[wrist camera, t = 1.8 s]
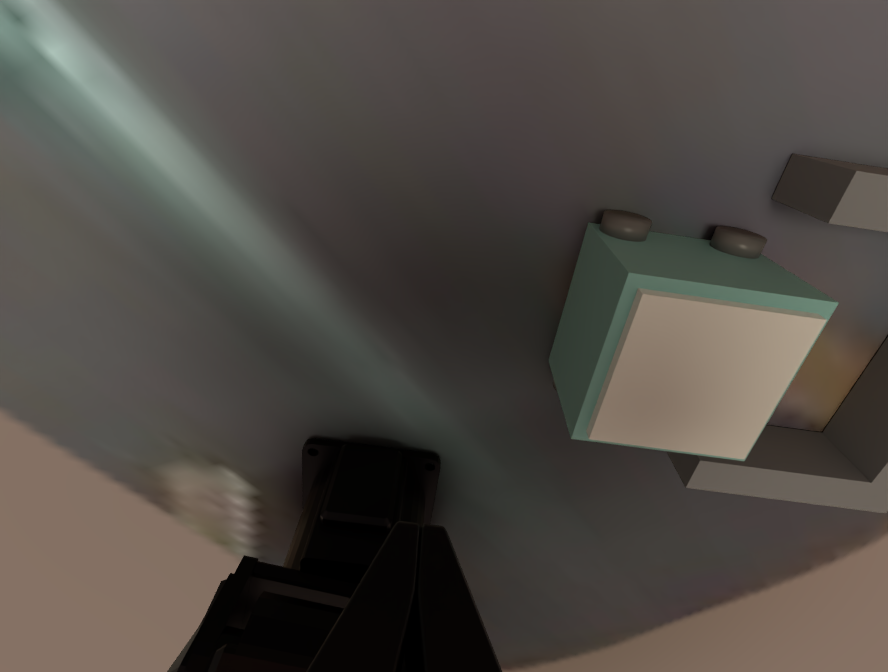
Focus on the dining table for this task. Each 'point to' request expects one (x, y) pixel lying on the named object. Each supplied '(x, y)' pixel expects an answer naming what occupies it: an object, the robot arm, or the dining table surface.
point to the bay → (865, 408)
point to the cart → (679, 338)
